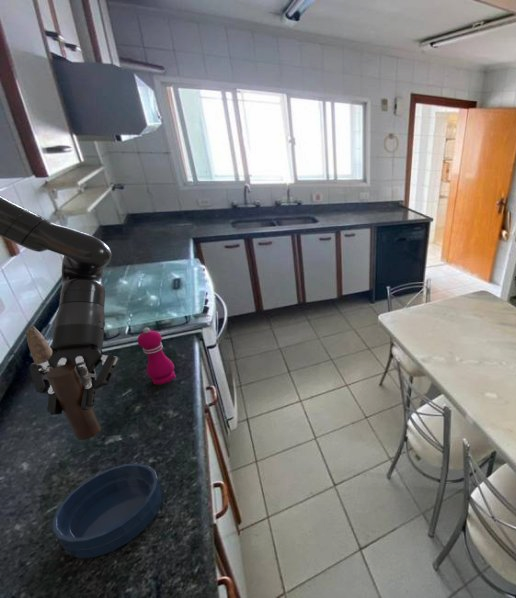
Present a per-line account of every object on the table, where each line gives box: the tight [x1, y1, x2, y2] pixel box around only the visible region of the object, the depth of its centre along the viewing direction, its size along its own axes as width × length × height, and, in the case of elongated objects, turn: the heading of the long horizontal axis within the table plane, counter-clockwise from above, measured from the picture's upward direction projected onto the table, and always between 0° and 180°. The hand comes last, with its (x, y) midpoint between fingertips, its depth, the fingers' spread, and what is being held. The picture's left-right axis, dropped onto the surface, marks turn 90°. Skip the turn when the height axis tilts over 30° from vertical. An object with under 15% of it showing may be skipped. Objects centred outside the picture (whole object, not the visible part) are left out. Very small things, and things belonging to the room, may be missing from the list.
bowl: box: [52, 462, 164, 559], centre depth 68 cm, size 16×16×6 cm
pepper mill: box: [137, 327, 177, 386], centre depth 104 cm, size 7×7×20 cm
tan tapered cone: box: [25, 325, 53, 370], centre depth 104 cm, size 6×18×6 cm
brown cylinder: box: [46, 364, 102, 441], centre depth 65 cm, size 4×4×16 cm
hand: (71, 411), depth 64 cm, fingers closed on brown cylinder, 4 cm apart
